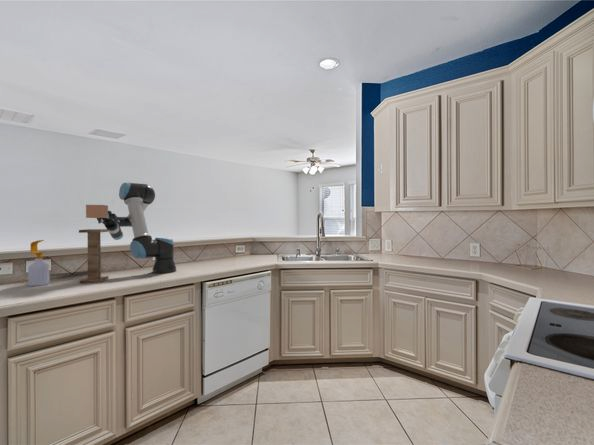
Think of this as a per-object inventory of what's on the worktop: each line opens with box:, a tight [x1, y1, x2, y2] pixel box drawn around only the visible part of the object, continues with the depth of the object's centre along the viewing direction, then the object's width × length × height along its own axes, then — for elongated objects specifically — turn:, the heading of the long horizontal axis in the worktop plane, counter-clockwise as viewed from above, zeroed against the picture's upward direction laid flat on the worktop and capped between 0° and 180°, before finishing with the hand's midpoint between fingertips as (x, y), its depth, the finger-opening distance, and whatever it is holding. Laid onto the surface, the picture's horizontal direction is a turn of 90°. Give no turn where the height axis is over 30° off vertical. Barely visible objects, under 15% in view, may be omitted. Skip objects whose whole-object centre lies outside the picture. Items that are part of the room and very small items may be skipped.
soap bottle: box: [27, 239, 50, 287], centre depth 176 cm, size 9×9×25 cm
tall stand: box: [78, 228, 109, 284], centre depth 186 cm, size 12×11×30 cm
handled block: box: [85, 204, 112, 219], centre depth 208 cm, size 24×9×8 cm, turn 13°
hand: (101, 209), depth 208 cm, fingers closed on handled block, 4 cm apart
